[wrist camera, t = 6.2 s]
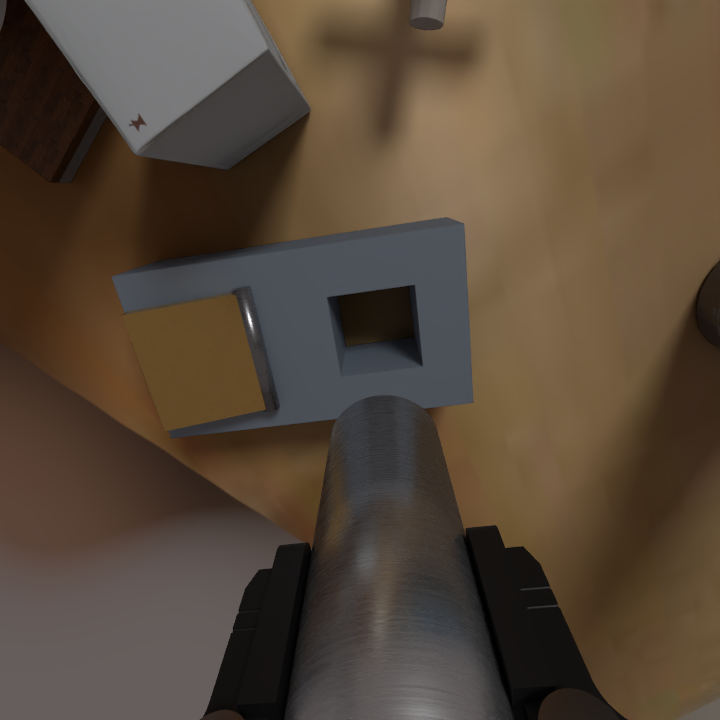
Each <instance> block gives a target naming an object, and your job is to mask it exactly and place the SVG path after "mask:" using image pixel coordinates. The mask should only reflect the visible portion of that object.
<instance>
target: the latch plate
mask: <svg viewBox="0 0 720 720" xmlns="http://www.w3.org/2000/svg"><path fill="white" fill-rule="evenodd" d="M121 316H122V319H123V321H124V324H125V327H126V329H127V332H128V335H129V337H130V340H131V343H132V345H133V348H134V351H135V353H136V356H137V359H138V361H139V364H140V367H141V369H142V372H143V375H144V377H145V380H146V383H147V385H148V388H149V391H150V393H151V396H152V399H153V401H154V404H155V407H156V409H157V412H158V415H159V417H160V420H161V423H162V425H163V428H164V431H170V430H174V429H179V428H183V427H188V426H193V425H197V424H202V423H206V422H211V421H216V420H220V419H225V418H229V417H234V416H239V415H243V414H248V413H252V412H257V411H262V410H263V411H264V412H272V411H275V410H277V409H279V408H280V403H279V399H278V395H277V391H276V387H275V383H274V379H273V375H272V371H271V367H270V363H269V359H268V355H267V351H266V347H265V343H264V338H263V334H262V330H261V326H260V322H259V318H258V314H257V310H256V306H255V302H254V298H253V294H252V290H251V287H250V286H245V287H239V288H235V289H233V290H231V293H225V294H220V295H214V296H209V297H203V298H198V299H192V300H187V301H181V302H176V303H170V304H165V305H159V306H154V307H148V308H143V309H137V310H132V311H127V312H125V313H124V314H123V315H121Z"/></svg>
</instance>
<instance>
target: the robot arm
mask: <svg viewBox="0 0 720 720" xmlns="http://www.w3.org/2000/svg"><path fill="white" fill-rule="evenodd" d="M697 319H698V324H699V327H700V329H701V331H702V333H703V335H704V336H705V337H706V338H707V339H708V340H709V341H710V342H711V343H712V344H714V345H715V346H717V347H719V348H720V262H719V263H718V264H717V265H716V266H715V268H714V269H713V271H712V272H711V273H710V275H709V276H708V278H707V279H706V281H705V283H704V285H703V287H702V289H701V292H700V295H699V299H698V303H697ZM466 539H467V543H468V547H469V550H470V554H471V558H472V562H473V565H474V569H475V573H476V576H477V580H478V584H479V587H480V591H481V595H482V599H483V602H484V606H485V610H486V613H487V617H488V621H489V624H490V628H491V632H492V636H493V639H494V643H495V647H496V650H497V654H498V658H499V662H500V665H501V669H502V673H503V676H504V680H505V684H506V687H507V691H508V695H509V699H510V702H511V706H512V710H513V713H514V716H515V718H516V720H627V719H626V718H624V717H623V716H622V715H621V714H619V713H618V712H617V711H616V710H615V709H613V708H612V707H611V706H610V705H609V704H608V703H607V701H606V700H605V699H604V698H603V697H602V695H601V694H600V692H599V691H598V689H597V688H596V686H595V684H594V682H593V681H592V679H591V676H590V674H589V672H588V670H587V667H586V665H585V663H584V661H583V658H582V656H581V654H580V652H579V650H578V647H577V645H576V643H575V641H574V638H573V636H572V634H571V632H570V629H569V627H568V625H567V623H566V621H565V618H564V616H563V614H562V612H561V609H560V608H559V607H558V603H557V601H556V598H555V596H554V594H553V592H552V589H550V585H549V583H548V580H547V578H546V576H545V574H544V572H543V569H542V567H541V565H540V563H539V562H538V561H537V560H536V559H535V558H534V557H533V556H532V555H531V554H530V553H529V552H528V551H527V550H526V549H525V548H524V547H523V546H522V547H511V548H505V546H504V543H503V541H502V538H501V535H500V533H499V530H498V528H497V526H496V525H493V526H483V527H472V528H466ZM311 552H312V551H311V547H310V544H309V543H298V544H289V545H280V546H279V547H278V549H277V552H276V555H275V559H274V563H273V567H272V569H262V570H258V572H257V573H256V575H255V576H254V577H253V579H252V580H251V581H250V583H249V584H248V586H247V587H246V588H245V591H244V594H243V597H242V601H241V604H240V607H239V614H237V616H236V620H235V623H234V626H233V633H231V636H230V639H229V642H228V645H227V648H226V651H225V654H224V658H223V661H222V664H221V667H220V670H219V673H218V677H217V680H216V684H215V686H214V689H213V693H212V696H211V699H210V702H209V705H208V708H207V710H206V712H205V714H204V716H203V718H202V719H200V720H284V714H285V708H286V702H287V696H288V690H289V684H290V678H291V672H292V666H293V660H294V654H295V648H296V642H297V636H298V630H299V624H300V618H301V612H302V606H303V600H304V594H305V588H306V582H307V576H308V570H309V564H310V558H311Z"/></svg>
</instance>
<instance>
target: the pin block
mask: <svg viewBox="0 0 720 720" xmlns="http://www.w3.org/2000/svg"><path fill="white" fill-rule="evenodd" d="M112 280H113V283H114V285H115V288H116V291H117V293H118V296H119V299H120V301H121V304H122V307H123V310H124V312H127V311H132V310H137V309H143V308H148V307H154V306H159V305H165V304H170V303H176V302H181V301H187V300H192V299H198V298H203V297H209V296H214V295H220V294H225V293H231V290H233V289H235V288H239V287H245V286H250V287H251V290H252V294H253V298H254V302H255V306H256V310H257V314H258V318H259V322H260V326H261V330H262V334H263V338H264V343H265V347H266V351H267V355H268V359H269V363H270V367H271V371H272V375H273V379H274V383H275V387H276V391H277V395H278V399H279V403H280V408H279V409H277V410H275V411H272V412H264V411H263V410H262V411H257V412H252V413H248V414H243V415H239V416H234V417H229V418H225V419H220V420H216V421H211V422H206V423H202V424H197V425H193V426H188V427H183V428H179V429H174V430H170V431H169V433H170V436H171V438H179V437H187V436H195V435H204V434H212V433H221V432H229V431H238V430H246V429H255V428H263V427H272V426H280V425H289V424H297V423H306V422H314V421H323V420H331V419H338V417H339V416H340V415H341V413H342V412H343V411H344V410H345V409H347V408H348V407H349V406H350V405H352V404H354V403H355V402H357V401H360V400H362V399H365V398H368V397H372V396H378V395H392V396H398V397H402V398H405V399H408V400H410V401H412V402H414V403H416V404H417V405H419V406H420V407H422V408H423V409H424V408H433V407H441V406H450V405H458V404H467V403H473V387H472V368H471V348H470V328H469V309H468V289H467V270H466V250H465V231H464V223H461V222H458V221H456V220H453V219H450V218H447V217H445V218H439V219H432V220H426V221H419V222H412V223H406V224H399V225H393V226H386V227H379V228H373V229H366V230H360V231H353V232H347V233H340V234H333V235H327V236H320V237H314V238H307V239H301V240H294V241H287V242H281V243H274V244H268V245H261V246H254V247H248V248H241V249H235V250H228V251H222V252H215V253H208V254H202V255H195V256H189V257H182V258H175V259H169V260H162V261H156V262H153V263H150V264H147V265H144V266H141V267H138V268H135V269H133V270H130V271H127V272H124V273H121V274H118V275H115V276H112ZM403 286H409V291H410V300H411V310H412V319H413V329H414V337H413V338H405V339H398V340H390V341H382V342H375V343H367V344H360V345H352V346H346V344H345V339H344V333H343V327H342V321H341V315H340V309H339V303H338V298H337V296H339V295H346V294H353V293H360V292H367V291H374V290H381V289H388V288H395V287H403Z"/></svg>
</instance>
